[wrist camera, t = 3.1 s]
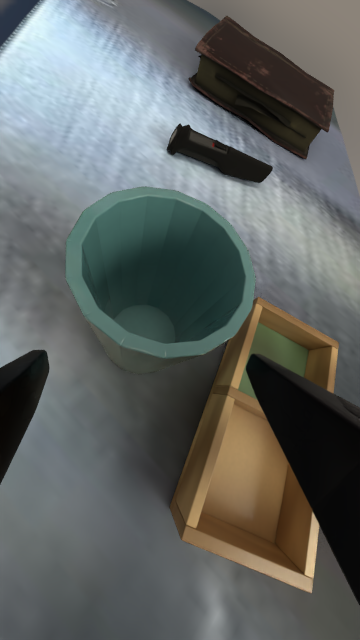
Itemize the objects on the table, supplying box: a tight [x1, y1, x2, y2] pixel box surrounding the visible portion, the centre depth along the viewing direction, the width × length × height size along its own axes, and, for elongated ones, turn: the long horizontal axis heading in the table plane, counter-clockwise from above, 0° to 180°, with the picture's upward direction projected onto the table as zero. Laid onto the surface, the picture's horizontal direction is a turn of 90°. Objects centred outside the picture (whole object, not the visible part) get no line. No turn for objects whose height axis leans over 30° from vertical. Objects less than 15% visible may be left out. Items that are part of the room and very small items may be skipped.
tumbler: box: [65, 186, 256, 374], centre depth 13 cm, size 7×7×13 cm
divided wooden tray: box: [170, 297, 339, 593], centre depth 18 cm, size 20×10×4 cm, turn 155°
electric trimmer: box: [167, 124, 273, 183], centre depth 29 cm, size 4×16×3 cm, turn 80°
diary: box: [189, 16, 334, 159], centre depth 37 cm, size 19×25×5 cm
